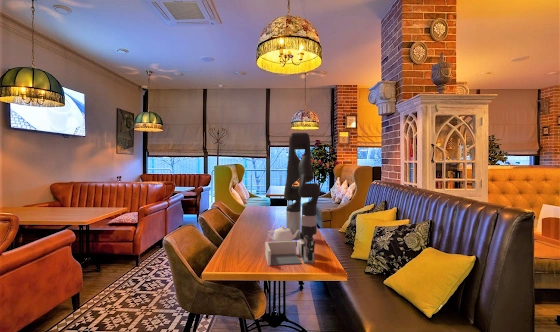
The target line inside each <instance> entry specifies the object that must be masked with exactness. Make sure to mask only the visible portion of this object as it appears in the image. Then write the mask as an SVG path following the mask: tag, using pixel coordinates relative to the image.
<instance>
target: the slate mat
mask: <svg viewBox="0 0 560 332" xmlns="http://www.w3.org/2000/svg"><path fill="white" fill-rule="evenodd" d="M298 256H299V255H297V253H296V254H273V255H271V266H287V265H288V266H290V265H291V266H292V265H302V260H300V258H299V257H298Z"/></svg>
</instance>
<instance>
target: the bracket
mask: <svg viewBox="0 0 560 332" xmlns="http://www.w3.org/2000/svg"><path fill="white" fill-rule="evenodd" d="M310 250H312V249H310ZM300 259H301V262H303V264H305V265H306V264H315V252H314V253H313V260H312V261H309V260H308V248H307V247H306V246H304V256H300Z"/></svg>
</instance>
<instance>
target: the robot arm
mask: <svg viewBox="0 0 560 332" xmlns="http://www.w3.org/2000/svg"><path fill="white" fill-rule="evenodd" d="M311 149H312V148H311V138H310V135H309V133H307V132H293V133H290V134H289V139H288V159H287V167H286V178H285V179H286V180H285V185H284V192H283V195H284V197H283V198H284V200H286V201H294V202H293V203H292V204H290V205H287V206H286V208H285V209H286V212H285V213H286V219H285V220H286V223H285V224H286V227H285V228H288V229H290V230H291V232H292V235H294V234H295V233H296V231H297V230H300V231H299V232H298V233H297V236H296V237H295V238H294V239H293V240H300V233H302V234H304V235H303V236H304V246H306V247H307V248H308V260H309V261H312V260H313V253H314V254H315V248H316V247H315V245H316V241H315V238H314V235H317V234H318V233H317V232H318V231H317V230H318V229H317V228H318V227H317V226H318V222H317V221H318V220H317V219H318V217H317V205H318V200H319V198H320V194H321V188H320V186H319V184H318V183H316V182H313V180H314V171H313V166H312V151H311ZM297 150H299V151H300V150H304V152H303V156H301V157H302V158H299V156H298V155H297V154H296V151H297ZM298 180H299V185H294V184H295V183H296V182H297V181H298ZM310 182H311V183H310ZM312 182H313V183H312ZM307 198H308V199H309V198H310V200H309V201H305V202H303V203H302V199H307ZM310 249H312V250H310Z"/></svg>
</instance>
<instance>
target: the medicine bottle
mask: <svg viewBox="0 0 560 332" xmlns="http://www.w3.org/2000/svg"><path fill="white" fill-rule="evenodd" d="M303 235H304V234H302V233H300V238H299V239H296V240H297V241H296V254H298V256H300V257H301V256H304V236H303Z"/></svg>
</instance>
